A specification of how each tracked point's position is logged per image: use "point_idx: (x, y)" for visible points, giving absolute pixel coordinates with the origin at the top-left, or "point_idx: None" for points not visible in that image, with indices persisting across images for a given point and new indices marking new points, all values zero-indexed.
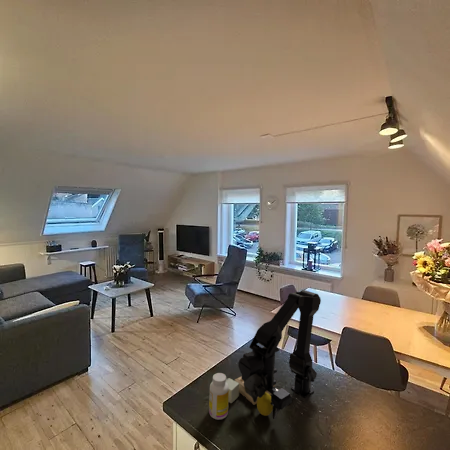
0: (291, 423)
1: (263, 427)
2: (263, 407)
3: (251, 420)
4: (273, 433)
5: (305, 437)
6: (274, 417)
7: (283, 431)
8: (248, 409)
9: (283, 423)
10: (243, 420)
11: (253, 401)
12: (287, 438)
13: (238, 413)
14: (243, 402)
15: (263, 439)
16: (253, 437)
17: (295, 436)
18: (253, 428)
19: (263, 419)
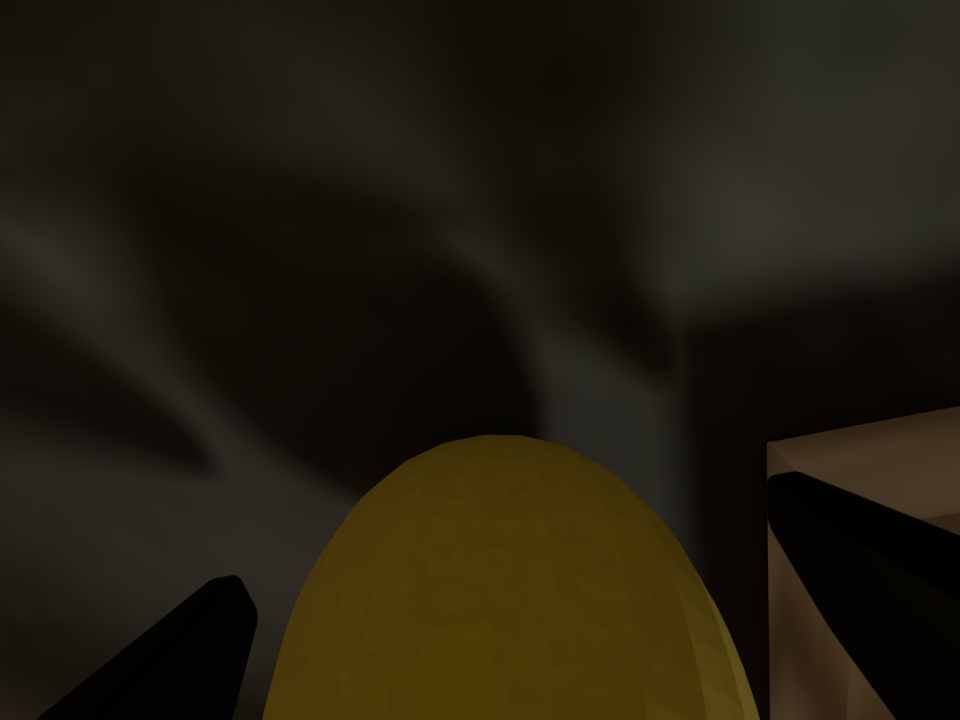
0: (243, 694)
1: (270, 340)
2: (312, 612)
3: (485, 215)
4: (124, 422)
5: (18, 710)
6: (175, 622)
7: (138, 559)
8: (742, 301)
9: (267, 623)
10: (555, 38)
11: (820, 473)
12: (16, 543)
13: (781, 24)
14: (946, 298)
15: (20, 200)
16: (83, 19)
17: (41, 635)
18: (296, 148)
19: (424, 426)
